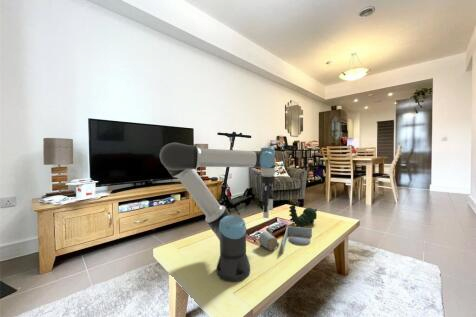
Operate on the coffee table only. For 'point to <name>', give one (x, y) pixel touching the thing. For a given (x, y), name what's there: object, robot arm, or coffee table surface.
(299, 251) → the coffee table surface
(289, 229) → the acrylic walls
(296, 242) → the slate coaster
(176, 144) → the robot arm
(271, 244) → the ceramic mug
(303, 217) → the toy figurine
